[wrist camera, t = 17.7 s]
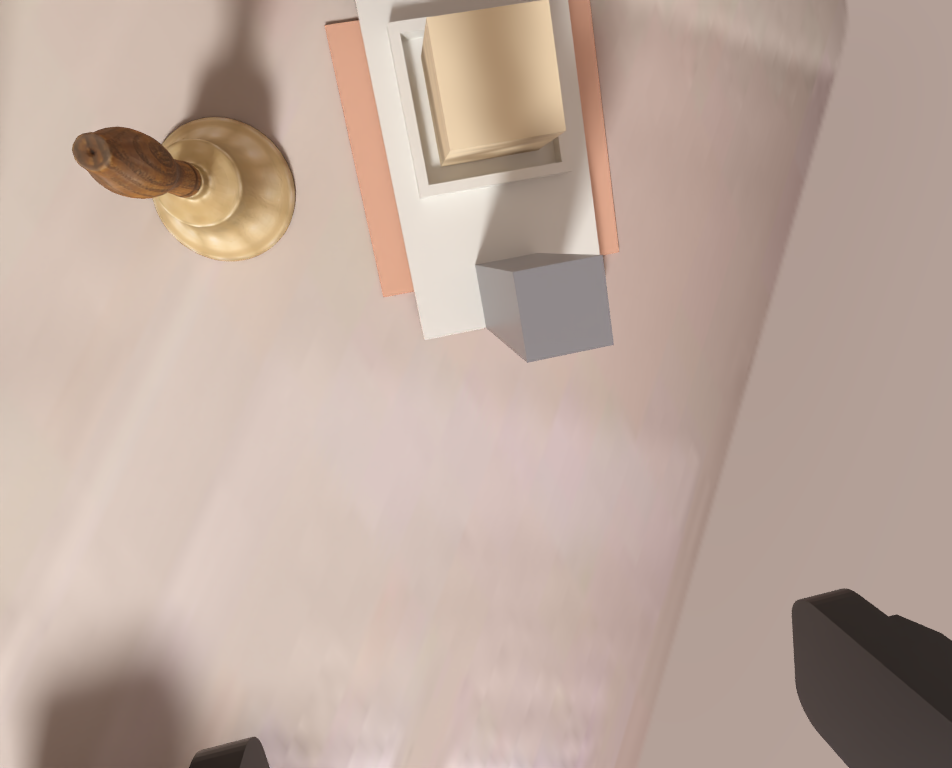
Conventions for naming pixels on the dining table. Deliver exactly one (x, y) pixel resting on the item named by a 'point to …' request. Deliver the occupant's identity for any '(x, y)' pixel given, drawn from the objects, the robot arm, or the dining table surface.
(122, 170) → the hand bell
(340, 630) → the dining table surface
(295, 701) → the dining table surface
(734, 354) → the dining table surface
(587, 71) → the pad
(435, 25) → the birch block
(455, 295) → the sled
